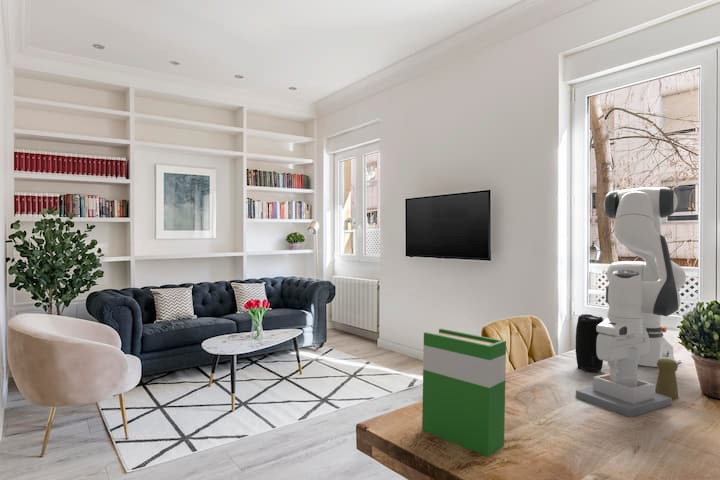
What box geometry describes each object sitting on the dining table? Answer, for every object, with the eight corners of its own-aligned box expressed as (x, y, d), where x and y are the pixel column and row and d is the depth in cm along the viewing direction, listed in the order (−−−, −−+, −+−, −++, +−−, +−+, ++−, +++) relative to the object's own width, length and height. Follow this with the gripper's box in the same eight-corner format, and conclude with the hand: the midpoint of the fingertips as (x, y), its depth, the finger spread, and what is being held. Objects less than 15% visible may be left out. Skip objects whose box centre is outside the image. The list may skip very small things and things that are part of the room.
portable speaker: (577, 364, 166) (578, 312, 165) (605, 369, 160) (607, 316, 160) (572, 370, 159) (574, 316, 158) (602, 375, 153) (603, 319, 153)
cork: (682, 399, 131) (683, 363, 131) (660, 398, 132) (660, 361, 132) (672, 392, 137) (673, 357, 137) (651, 391, 138) (651, 356, 138)
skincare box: (630, 384, 131) (630, 344, 131) (637, 389, 127) (638, 348, 127) (608, 383, 132) (609, 344, 132) (615, 388, 128) (616, 347, 127)
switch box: (617, 387, 141) (617, 368, 141) (671, 404, 127) (671, 384, 127) (575, 396, 132) (576, 377, 132) (629, 416, 118) (629, 394, 118)
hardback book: (422, 430, 108) (423, 332, 107) (439, 421, 113) (441, 328, 113) (488, 456, 95) (490, 346, 95) (504, 445, 101) (506, 341, 100)
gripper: (634, 321, 137) (633, 365, 137) (592, 326, 127) (591, 374, 127) (656, 324, 131) (655, 371, 131) (613, 330, 122) (612, 380, 122)
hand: (623, 372), depth 129 cm, fingers closed on skincare box, 7 cm apart
